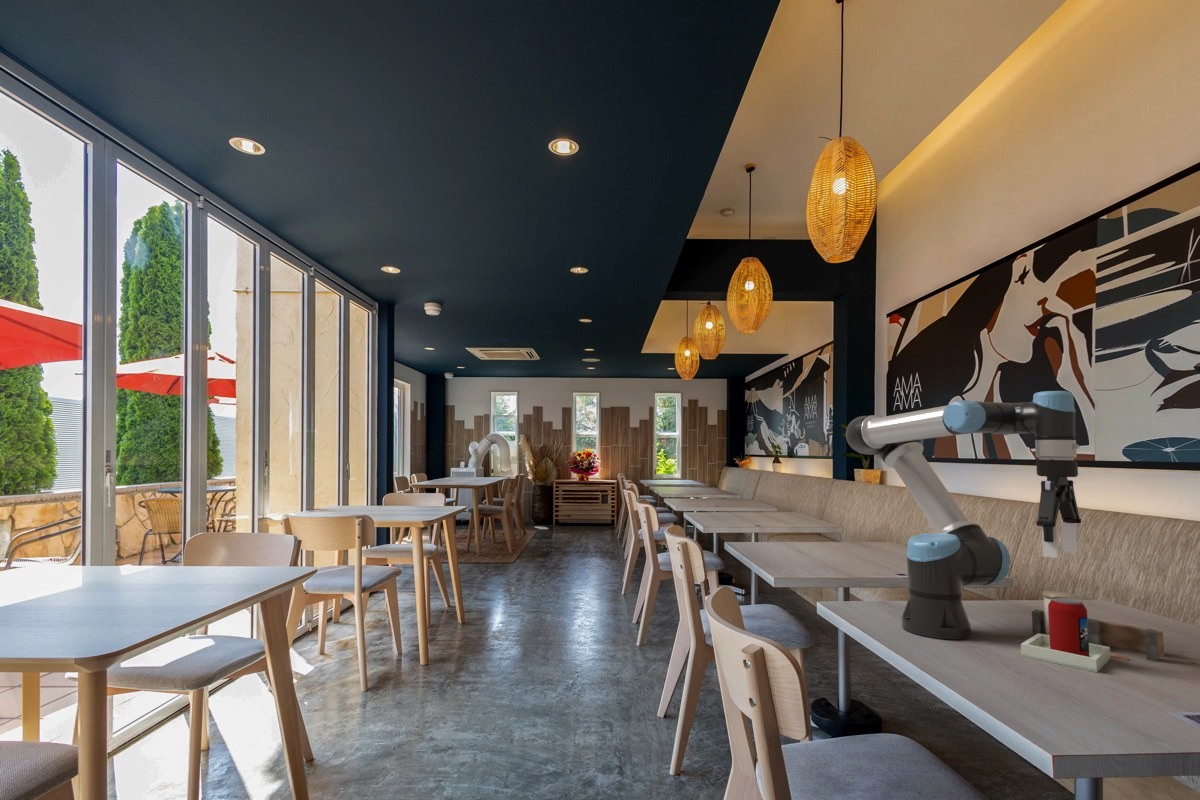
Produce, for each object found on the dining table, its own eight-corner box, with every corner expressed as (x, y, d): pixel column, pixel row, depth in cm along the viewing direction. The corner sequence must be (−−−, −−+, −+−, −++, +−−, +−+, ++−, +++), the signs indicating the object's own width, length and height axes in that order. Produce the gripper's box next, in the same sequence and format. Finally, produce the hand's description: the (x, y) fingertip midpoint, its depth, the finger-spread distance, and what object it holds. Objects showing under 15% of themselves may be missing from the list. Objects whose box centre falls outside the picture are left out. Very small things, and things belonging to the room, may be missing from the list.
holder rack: (1025, 639, 145) (1024, 613, 145) (1040, 630, 153) (1038, 606, 153) (1155, 666, 128) (1153, 636, 128) (1164, 654, 135) (1162, 626, 136)
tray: (1021, 655, 133) (1020, 644, 133) (1038, 644, 142) (1038, 633, 142) (1096, 672, 123) (1096, 659, 124) (1110, 659, 132) (1109, 647, 132)
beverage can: (1095, 663, 127) (1092, 604, 128) (1057, 659, 129) (1054, 601, 130) (1081, 653, 134) (1078, 597, 135) (1045, 650, 136) (1042, 594, 137)
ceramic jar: (1041, 640, 144) (1039, 593, 145) (1049, 635, 149) (1047, 589, 150) (1077, 647, 139) (1074, 598, 140) (1084, 642, 144) (1081, 594, 145)
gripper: (1058, 459, 128) (1063, 562, 126) (1092, 459, 143) (1097, 551, 141) (1017, 458, 134) (1021, 557, 132) (1054, 459, 149) (1058, 547, 147)
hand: (1060, 554), depth 137 cm, fingers open, 13 cm apart
